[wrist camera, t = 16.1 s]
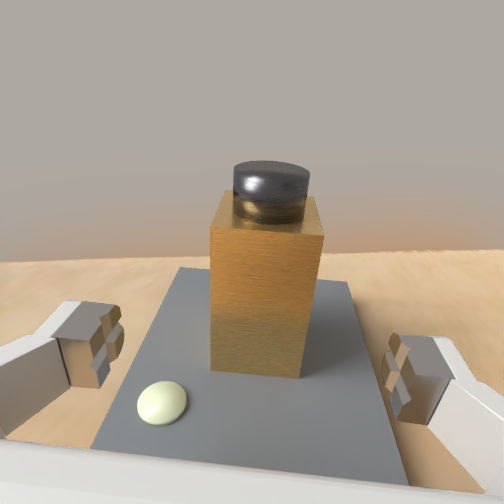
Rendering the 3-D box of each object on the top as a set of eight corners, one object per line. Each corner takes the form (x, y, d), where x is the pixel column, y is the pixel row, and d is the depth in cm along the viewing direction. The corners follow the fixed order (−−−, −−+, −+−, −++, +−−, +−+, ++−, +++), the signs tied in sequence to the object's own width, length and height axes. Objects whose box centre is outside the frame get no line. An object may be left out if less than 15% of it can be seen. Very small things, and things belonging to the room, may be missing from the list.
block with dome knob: (294, 320, 24) (319, 161, 18) (298, 378, 19) (332, 191, 14) (222, 314, 24) (226, 154, 18) (210, 370, 19) (210, 182, 14)
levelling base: (341, 303, 29) (347, 278, 28) (398, 520, 15) (414, 491, 14) (181, 288, 30) (179, 264, 29) (93, 486, 16) (83, 455, 15)
